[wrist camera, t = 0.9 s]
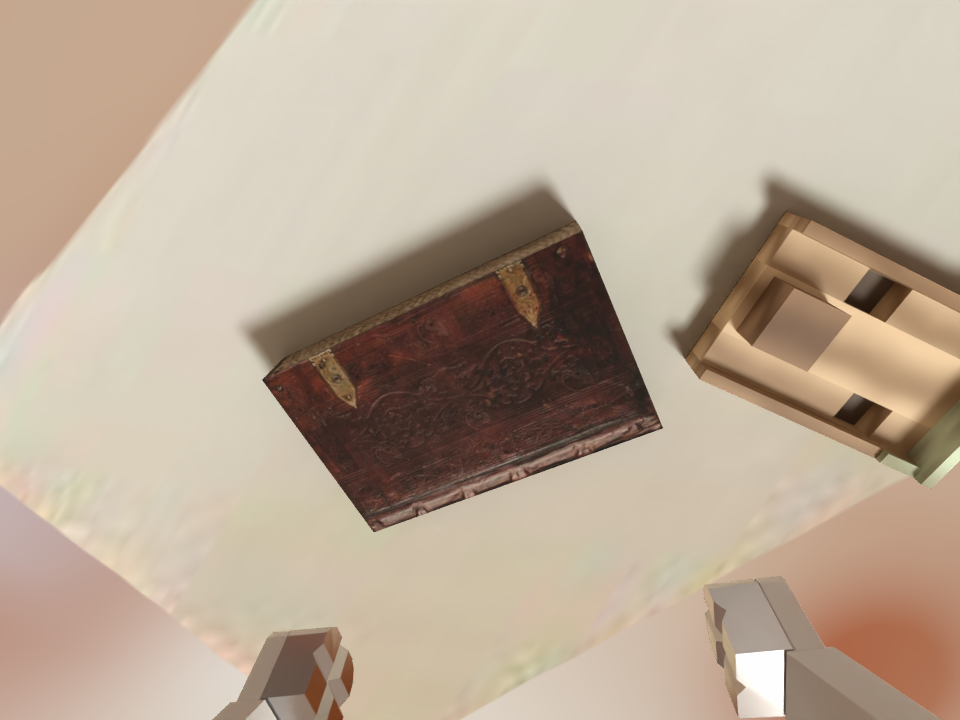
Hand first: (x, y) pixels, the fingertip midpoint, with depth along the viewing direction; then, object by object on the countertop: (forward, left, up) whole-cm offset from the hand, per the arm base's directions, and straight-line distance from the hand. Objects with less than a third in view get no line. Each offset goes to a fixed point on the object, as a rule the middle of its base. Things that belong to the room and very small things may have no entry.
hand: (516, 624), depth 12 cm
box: (-5, +29, -35) cm, 46 cm away
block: (-5, +21, -33) cm, 40 cm away
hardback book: (+13, +1, -36) cm, 38 cm away
